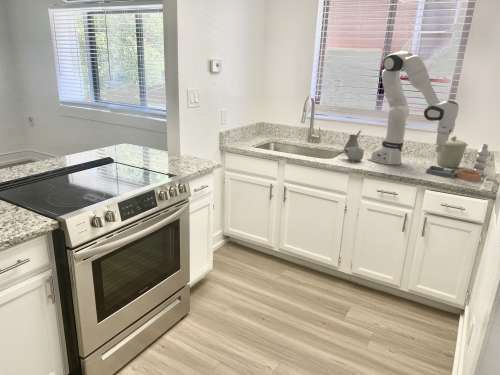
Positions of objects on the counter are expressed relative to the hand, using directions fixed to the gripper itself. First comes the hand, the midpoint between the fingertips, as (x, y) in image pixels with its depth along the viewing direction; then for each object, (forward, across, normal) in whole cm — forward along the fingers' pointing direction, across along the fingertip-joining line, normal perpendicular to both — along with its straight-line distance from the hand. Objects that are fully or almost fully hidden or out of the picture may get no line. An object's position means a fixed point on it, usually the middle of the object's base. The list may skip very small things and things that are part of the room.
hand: (440, 150), depth 233 cm
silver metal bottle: (+14, -13, +22) cm, 30 cm away
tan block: (+1, 0, 0) cm, 1 cm away
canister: (+15, -25, +4) cm, 29 cm away
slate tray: (+14, 0, +4) cm, 15 cm away
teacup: (+16, +6, -52) cm, 54 cm away
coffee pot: (+17, -20, -60) cm, 66 cm away
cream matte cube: (+14, 0, +7) cm, 15 cm away
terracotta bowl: (+14, 0, +19) cm, 24 cm away
